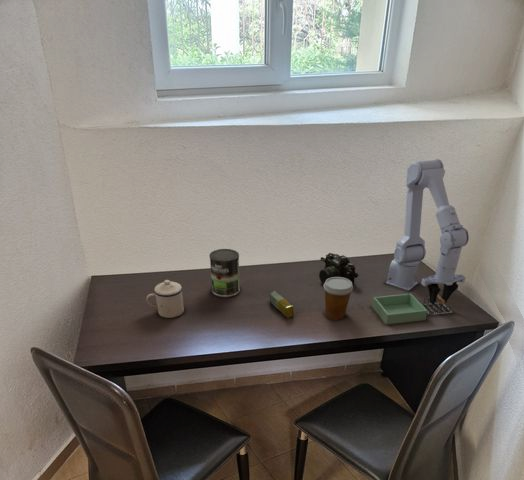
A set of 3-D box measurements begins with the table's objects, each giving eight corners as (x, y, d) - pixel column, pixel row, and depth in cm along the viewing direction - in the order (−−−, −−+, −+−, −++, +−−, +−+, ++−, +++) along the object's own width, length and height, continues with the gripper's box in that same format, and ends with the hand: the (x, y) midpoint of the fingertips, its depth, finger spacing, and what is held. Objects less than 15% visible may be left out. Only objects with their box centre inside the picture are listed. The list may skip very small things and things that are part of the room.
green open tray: (385, 325, 150) (387, 315, 148) (371, 307, 159) (373, 297, 157) (425, 321, 152) (427, 310, 150) (408, 303, 162) (411, 293, 159)
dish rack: (429, 316, 155) (432, 303, 152) (419, 305, 160) (422, 293, 157) (452, 313, 156) (456, 300, 153) (442, 303, 161) (445, 290, 158)
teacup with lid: (184, 303, 161) (180, 273, 154) (184, 317, 154) (181, 286, 147) (149, 306, 159) (144, 276, 153) (148, 320, 152) (142, 289, 145)
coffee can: (232, 299, 164) (231, 262, 155) (207, 294, 167) (204, 257, 158) (244, 286, 171) (243, 251, 163) (219, 281, 174) (217, 246, 166)
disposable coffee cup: (331, 325, 150) (334, 292, 143) (315, 311, 157) (318, 280, 150) (355, 318, 154) (359, 285, 147) (338, 305, 160) (342, 273, 153)
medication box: (270, 302, 162) (269, 293, 159) (276, 300, 163) (275, 290, 160) (287, 318, 153) (286, 308, 151) (294, 315, 154) (293, 305, 151)
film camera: (305, 280, 175) (307, 256, 169) (324, 269, 183) (326, 245, 177) (345, 295, 166) (348, 270, 160) (363, 283, 174) (366, 258, 168)
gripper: (432, 272, 144) (423, 310, 152) (474, 268, 146) (463, 306, 154) (422, 263, 150) (413, 299, 158) (462, 259, 152) (452, 295, 160)
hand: (437, 302), depth 156 cm, fingers open, 4 cm apart
